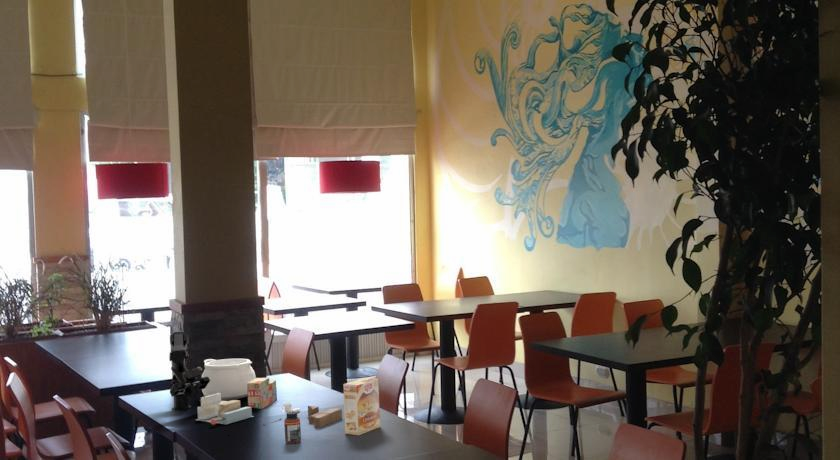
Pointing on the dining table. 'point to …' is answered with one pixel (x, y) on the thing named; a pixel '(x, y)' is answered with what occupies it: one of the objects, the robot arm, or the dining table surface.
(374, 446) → the dining table surface
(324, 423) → the wooden block set
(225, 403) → the beech block
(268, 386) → the stack of blocks
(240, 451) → the dining table surface
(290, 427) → the supplement bottle
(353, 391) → the coffeecake box
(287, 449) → the dining table surface
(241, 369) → the pot
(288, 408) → the teacup and saucer
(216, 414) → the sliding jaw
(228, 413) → the pale blue base plate
